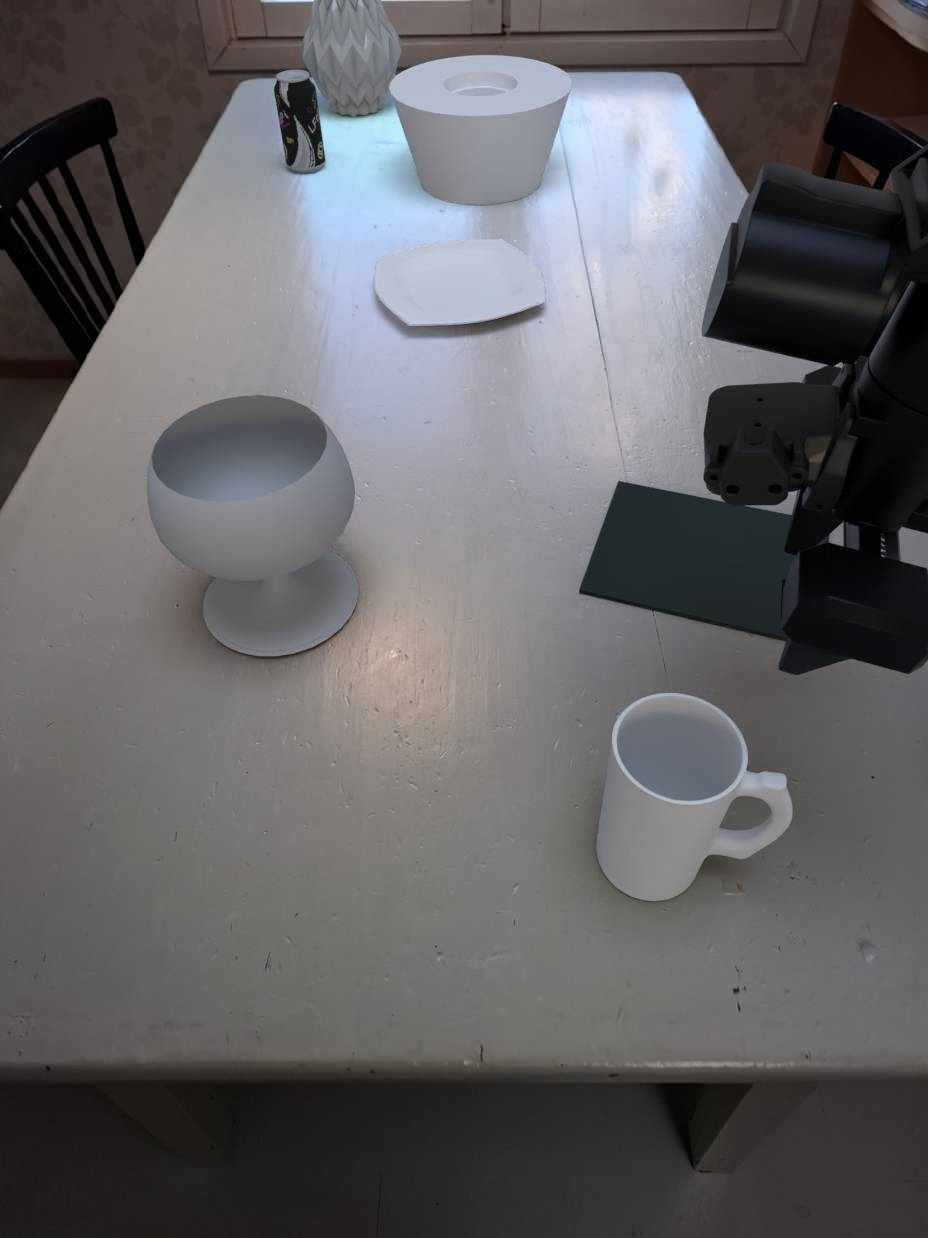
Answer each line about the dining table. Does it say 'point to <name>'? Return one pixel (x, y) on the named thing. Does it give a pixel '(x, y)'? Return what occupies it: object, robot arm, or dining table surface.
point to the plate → (458, 282)
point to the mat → (692, 558)
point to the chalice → (258, 519)
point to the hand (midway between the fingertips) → (790, 608)
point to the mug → (678, 796)
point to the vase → (351, 53)
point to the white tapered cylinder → (481, 124)
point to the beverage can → (299, 121)
